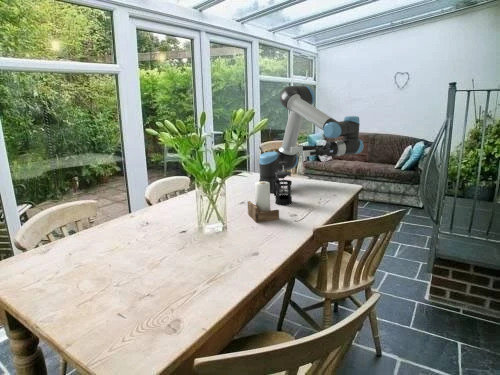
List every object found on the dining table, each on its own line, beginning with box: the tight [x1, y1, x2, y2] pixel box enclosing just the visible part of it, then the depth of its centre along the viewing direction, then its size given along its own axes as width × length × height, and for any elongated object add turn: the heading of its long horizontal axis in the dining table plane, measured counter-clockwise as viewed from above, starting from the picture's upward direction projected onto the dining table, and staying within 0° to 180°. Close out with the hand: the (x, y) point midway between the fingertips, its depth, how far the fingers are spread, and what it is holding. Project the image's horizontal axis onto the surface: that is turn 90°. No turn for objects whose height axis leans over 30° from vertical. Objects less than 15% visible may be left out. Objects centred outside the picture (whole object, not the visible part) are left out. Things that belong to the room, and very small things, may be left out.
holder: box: [247, 200, 280, 223], centre depth 165 cm, size 12×12×7 cm
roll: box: [254, 181, 271, 212], centre depth 163 cm, size 7×7×16 cm
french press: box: [273, 162, 293, 206], centre depth 184 cm, size 12×9×23 cm
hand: (296, 151), depth 166 cm, fingers open, 13 cm apart
